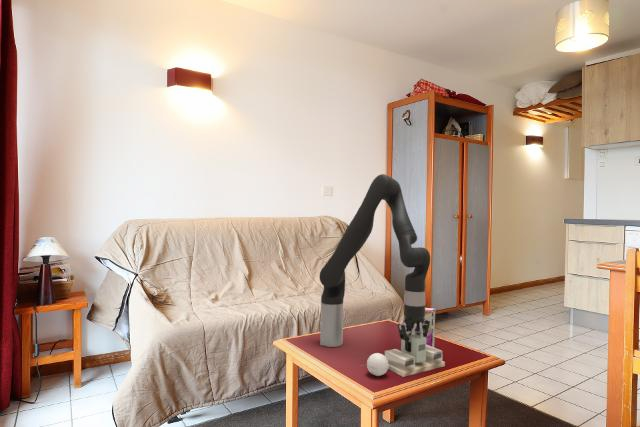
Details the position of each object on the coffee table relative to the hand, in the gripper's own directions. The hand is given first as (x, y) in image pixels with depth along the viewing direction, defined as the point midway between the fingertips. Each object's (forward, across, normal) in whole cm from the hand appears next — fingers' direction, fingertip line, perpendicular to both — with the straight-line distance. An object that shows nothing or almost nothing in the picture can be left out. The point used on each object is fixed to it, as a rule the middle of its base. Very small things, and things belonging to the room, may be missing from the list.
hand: (413, 350), depth 149 cm
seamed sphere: (+6, -18, 0) cm, 19 cm away
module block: (+3, 0, 0) cm, 3 cm away
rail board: (+6, 0, 0) cm, 6 cm away
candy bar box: (+6, +16, +13) cm, 22 cm away
